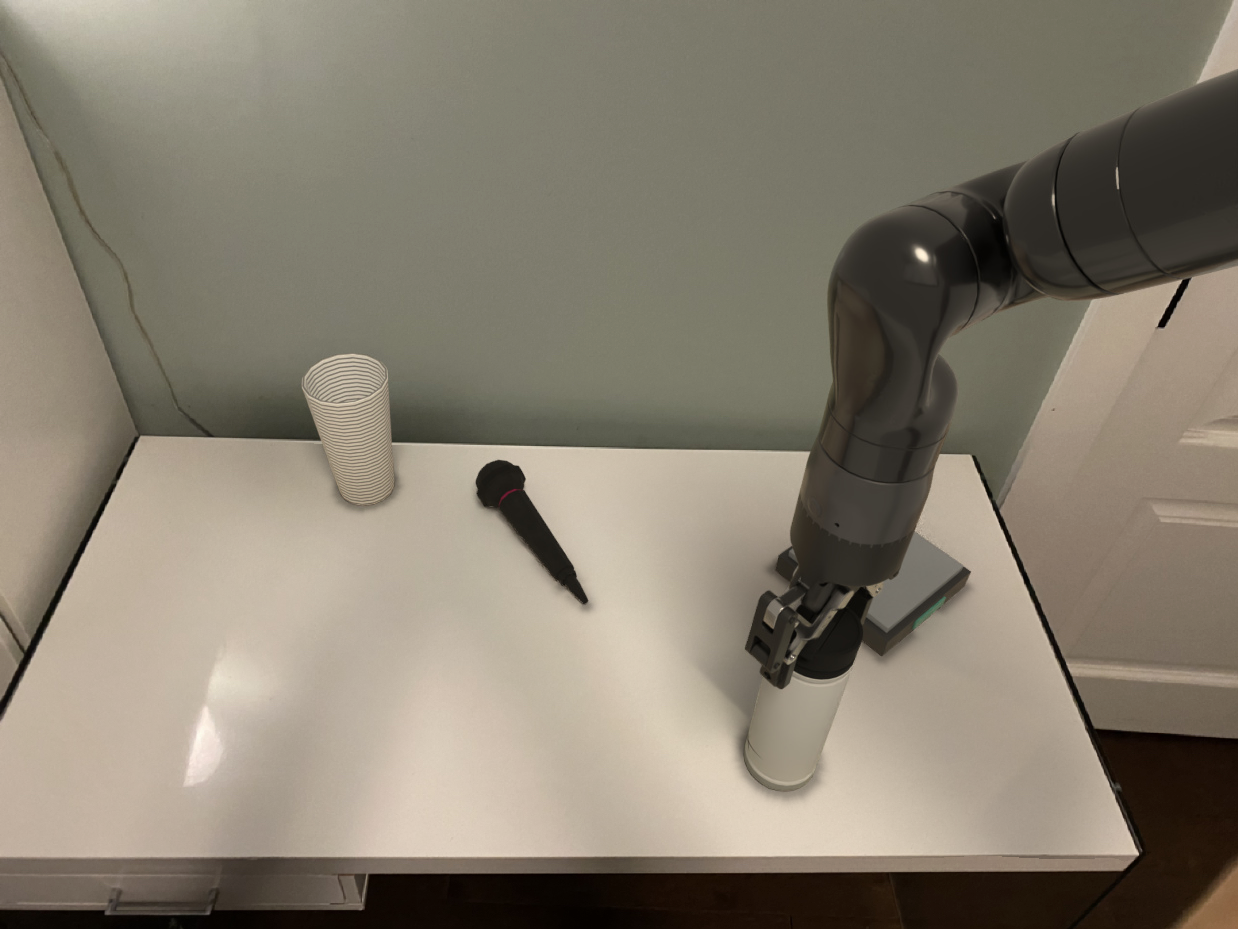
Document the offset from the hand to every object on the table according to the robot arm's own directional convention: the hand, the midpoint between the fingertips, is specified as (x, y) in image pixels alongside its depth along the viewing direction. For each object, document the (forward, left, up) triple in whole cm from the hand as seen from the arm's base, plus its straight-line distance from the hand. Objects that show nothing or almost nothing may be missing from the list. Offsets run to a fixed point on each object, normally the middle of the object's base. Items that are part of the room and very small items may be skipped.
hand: (812, 648), depth 69 cm
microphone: (+34, +2, -17) cm, 38 cm away
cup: (+52, +11, -17) cm, 56 cm away
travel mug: (0, 0, -17) cm, 17 cm away
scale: (+8, -23, -16) cm, 29 cm away
